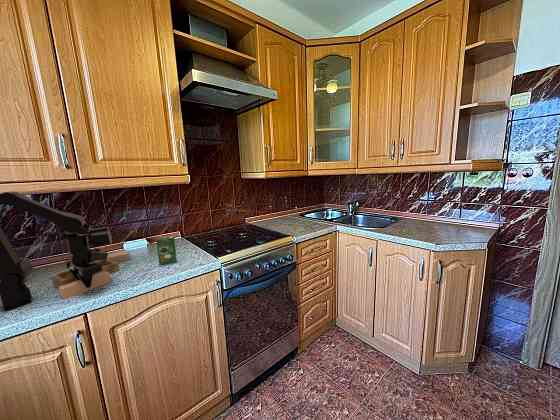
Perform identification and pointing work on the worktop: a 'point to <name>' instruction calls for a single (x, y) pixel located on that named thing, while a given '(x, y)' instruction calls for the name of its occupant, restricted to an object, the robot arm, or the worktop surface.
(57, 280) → the wooden open tray
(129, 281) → the worktop surface
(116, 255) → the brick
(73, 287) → the clay strip
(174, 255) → the coffee box
